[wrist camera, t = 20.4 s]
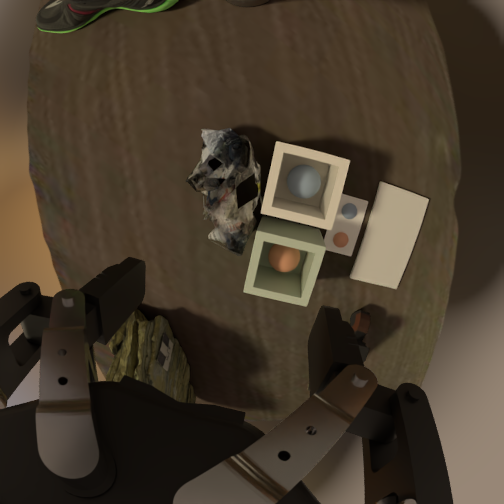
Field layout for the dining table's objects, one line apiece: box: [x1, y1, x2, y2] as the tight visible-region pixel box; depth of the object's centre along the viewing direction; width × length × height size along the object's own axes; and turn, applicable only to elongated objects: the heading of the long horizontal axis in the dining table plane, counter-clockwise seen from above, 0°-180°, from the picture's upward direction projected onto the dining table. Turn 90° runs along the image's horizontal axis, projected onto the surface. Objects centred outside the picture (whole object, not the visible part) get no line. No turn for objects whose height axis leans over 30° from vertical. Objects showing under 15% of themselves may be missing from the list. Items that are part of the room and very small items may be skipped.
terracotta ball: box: [268, 244, 300, 272], centre depth 40 cm, size 5×5×5 cm
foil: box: [186, 128, 262, 256], centre depth 37 cm, size 12×11×15 cm
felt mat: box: [349, 181, 429, 289], centre depth 39 cm, size 16×9×1 cm, turn 169°
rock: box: [106, 308, 196, 403], centre depth 47 cm, size 31×20×14 cm
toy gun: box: [307, 310, 370, 391], centre depth 46 cm, size 2×18×11 cm, turn 160°
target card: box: [324, 194, 368, 256], centre depth 40 cm, size 9×5×1 cm, turn 169°
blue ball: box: [287, 165, 321, 199], centre depth 36 cm, size 5×5×5 cm
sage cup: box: [243, 216, 326, 306], centre depth 39 cm, size 9×9×8 cm
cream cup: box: [261, 141, 350, 230], centre depth 35 cm, size 9×9×8 cm
